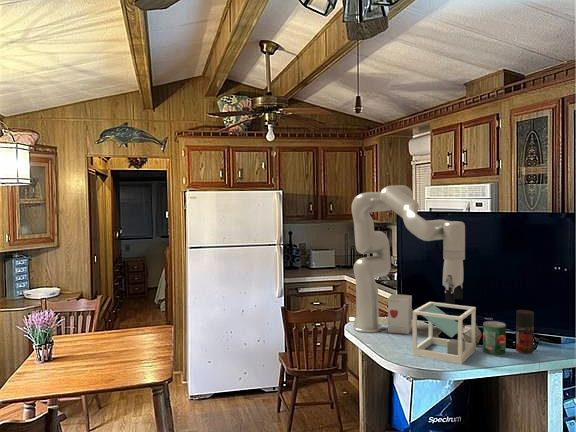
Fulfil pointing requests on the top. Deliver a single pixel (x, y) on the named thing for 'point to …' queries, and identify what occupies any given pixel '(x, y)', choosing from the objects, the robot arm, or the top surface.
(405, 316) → the supplement box
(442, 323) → the trapdoor
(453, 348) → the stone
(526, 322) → the deodorant
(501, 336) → the canned tomato
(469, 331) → the game die
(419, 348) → the frame
